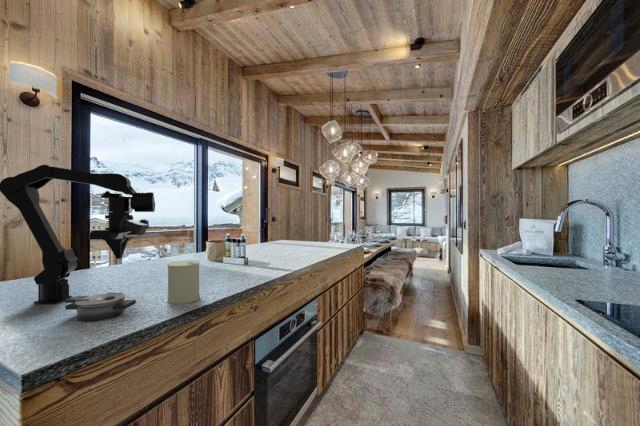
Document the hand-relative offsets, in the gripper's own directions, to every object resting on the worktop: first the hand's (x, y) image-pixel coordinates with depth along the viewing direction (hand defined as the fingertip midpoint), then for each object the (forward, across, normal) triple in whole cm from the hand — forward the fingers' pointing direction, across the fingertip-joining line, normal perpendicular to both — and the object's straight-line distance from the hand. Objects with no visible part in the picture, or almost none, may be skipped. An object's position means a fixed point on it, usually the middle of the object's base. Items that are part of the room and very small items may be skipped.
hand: (119, 258), depth 94 cm
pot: (+12, -19, -8) cm, 24 cm away
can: (+12, -6, -24) cm, 28 cm away
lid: (+8, -19, -7) cm, 22 cm away
